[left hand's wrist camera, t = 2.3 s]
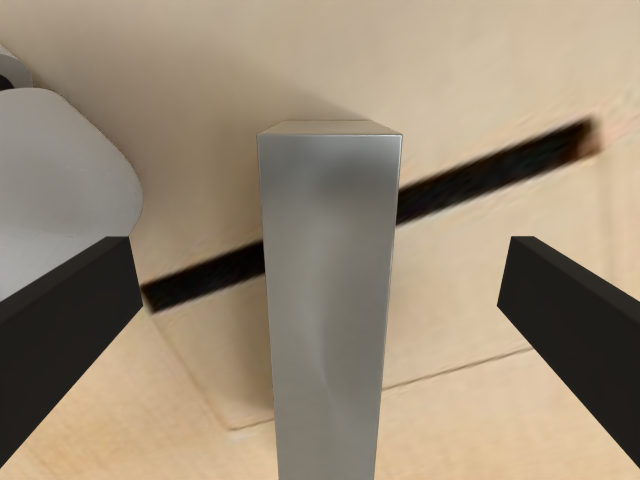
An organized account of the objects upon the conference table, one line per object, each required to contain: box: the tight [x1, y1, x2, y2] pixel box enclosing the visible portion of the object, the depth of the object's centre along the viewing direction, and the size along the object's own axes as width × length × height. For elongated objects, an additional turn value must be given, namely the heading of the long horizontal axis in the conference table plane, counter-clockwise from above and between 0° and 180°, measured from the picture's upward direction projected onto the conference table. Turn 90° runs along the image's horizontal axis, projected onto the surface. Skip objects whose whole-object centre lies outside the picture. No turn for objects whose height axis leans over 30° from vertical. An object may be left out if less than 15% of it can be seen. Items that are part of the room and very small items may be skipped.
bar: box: [257, 120, 403, 480], centre depth 21 cm, size 24×5×9 cm, turn 0°
